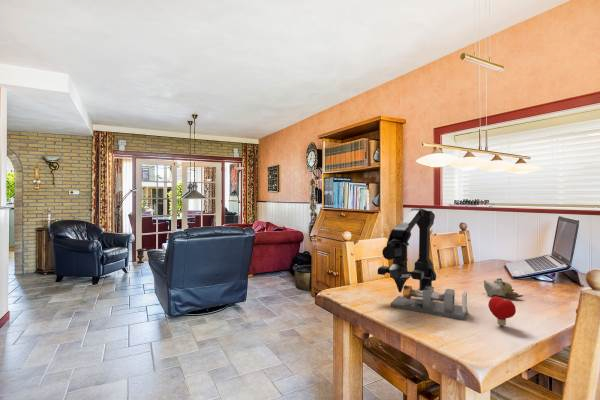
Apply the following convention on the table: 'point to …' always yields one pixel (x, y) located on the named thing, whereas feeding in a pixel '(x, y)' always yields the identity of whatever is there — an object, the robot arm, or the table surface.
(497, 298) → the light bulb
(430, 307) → the bearing frame
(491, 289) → the ceramic sculpture
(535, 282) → the table surface
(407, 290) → the shaft
